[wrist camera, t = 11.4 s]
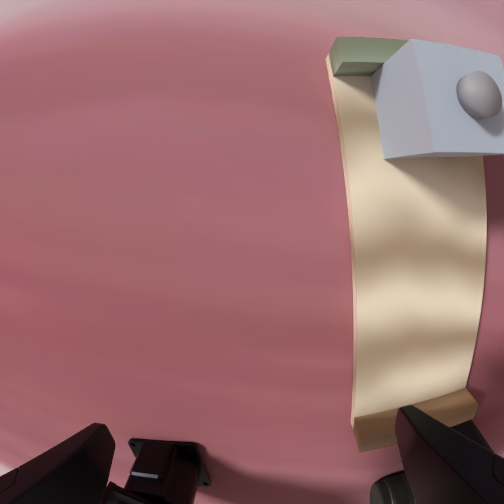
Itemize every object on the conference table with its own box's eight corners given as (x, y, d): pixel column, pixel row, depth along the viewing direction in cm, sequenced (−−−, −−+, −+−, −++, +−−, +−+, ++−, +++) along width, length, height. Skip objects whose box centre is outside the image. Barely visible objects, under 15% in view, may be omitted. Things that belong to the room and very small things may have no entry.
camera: (380, 433, 22) (413, 522, 12) (478, 405, 21) (526, 471, 12) (360, 507, 25) (374, 574, 15) (441, 485, 24) (466, 542, 15)
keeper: (458, 157, 16) (533, 154, 9) (383, 159, 16) (446, 150, 10) (445, 81, 15) (511, 51, 8) (369, 77, 15) (420, 30, 9)
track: (456, 394, 21) (474, 417, 18) (350, 422, 22) (359, 452, 18) (458, 67, 15) (485, 54, 12) (325, 59, 16) (336, 36, 13)
